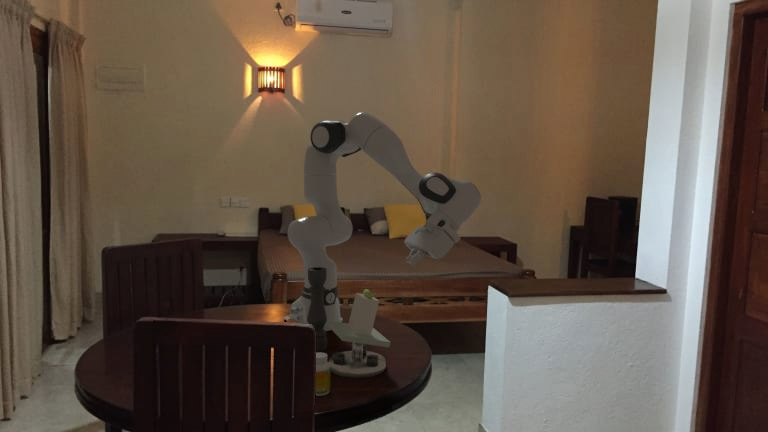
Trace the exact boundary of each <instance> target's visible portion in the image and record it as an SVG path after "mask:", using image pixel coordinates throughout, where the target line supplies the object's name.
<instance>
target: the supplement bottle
mask: <svg viewBox="0 0 768 432" xmlns="http://www.w3.org/2000/svg"><path fill="white" fill-rule="evenodd" d="M315 353H316V374H315V376H316V396H315V397H321V396H322V397H323V396H327V395H328V394H329V393H330V391H331V371H330V364H329V361H328V353H325V352H323V351H318V352H315Z"/></svg>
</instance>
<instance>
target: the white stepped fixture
mask: <svg viewBox="0 0 768 432" xmlns="http://www.w3.org/2000/svg"><path fill="white" fill-rule="evenodd" d="M374 296H375V294H374V292H372V291H370V290H369V289H367V288H365V289H363V290H362V293H359V292H356V293H355V295H354V301H353V304H352V308H351V312H350V317H349V320H348V323H347V322H335V321H329V323H328V326H329V327H330V328H331V329H332V330H331V331H332V332H333V333H334V334H335V335H336V336H337V337H338V338H339V339H340V340H341V341H342V342H349V343H352V342H355V343H362V344H366V345H370V346H377V347H382V348H383V347H384V348H390V346H391V341H390V340H388V339H387V338H386V337H385V336H383V334H382V333H380V332H379V331H378V330H376V328H374V324H375V321H376V320H375V319H376V316H377V313H378V308H379V305H380V304H379V303H380V300H379V299H377V298H376V297H374Z"/></svg>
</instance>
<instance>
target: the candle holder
mask: <svg viewBox="0 0 768 432" xmlns="http://www.w3.org/2000/svg"><path fill="white" fill-rule="evenodd" d="M326 279H327V269H326V268H323V267H312V268H308V280H309V283H310V285H311V287H310V288H309V291H310V293H311V304H310V308H309V312H308V316H307V322H308V324H312V325H313V326H314V328H315V332H316V352H315V353H318V352H324V351H326V350H327V349H328V337H327V331H325V330H324V329H323V328H324V325H325V323H326V321H327V315H326V311H325V307H324V302H323V293H324V291H325V290H326V288H325V287H324V286H323V285H324V283H325V282H326Z"/></svg>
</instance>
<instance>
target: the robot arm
mask: <svg viewBox="0 0 768 432" xmlns="http://www.w3.org/2000/svg"><path fill="white" fill-rule="evenodd" d="M309 137H310V143H311V144H309V145H308V146H307V147H306V149H305V150H306V151H305V154H304V163H303V196H304V198H305V200H306V201H307V202H308V203H310V204H311V205H312V207H313V208H314V211H315V215H310V216H303V217H300V218H297V219H295V220H293V221H291V222H290V223H289V225H288V228H287V238H288V241H289V243H290V244H291V246H293V247H294V248H295V249H296V250H297V251H298V253H299V254H300V256H301V259H302V262H303V267H304V269H303V270H304V271H303V272H304V285H303V286H302V285H301V286H300V288H301V289H300V290H302V291H301V296H299V298H297V299H296V300H295V301H294V302H293V303H291V305H290V312H289V313H290V314H288V315H286V316H284V317H283V320H284V319H286V320H288V319H290V318H291V319H294V320H296V321H298V322H300V323H308V322H307V316H308V312H309V308H310V304H311V293H310V291H309V288H310V287H311V285H310V283H309V280H308V268H312V267H323V268H326V269H327V279H326V282H325V283H324V285H323V286H324V287H325V288H326V290H325V291H324V293H323V302H324V307H325V311H326V315H327V321H326V323H325V325H324V328H323V329H324V330H325V332H328V331H332V329H331V328H330V327H329V326H328V323H329V321H335V322H341V323H343V317H341V305H340V304H341V303H340V299H339V298H338V296H339V288H338V285H337V283H338V282H337V275H338V274H337V269H338V267H337V263H336V262H335V261H334V260H333V259H332V258H330V257H329V256H328V254H327V247H329V246H337V245H340V244H342V243H344V242H346V241H348V240H349V239H350V238H351V237H352V235H353V234H352V233H353V224H352V221H351V220H350V218H349V217H347V215H346V214H345V213H344V212H343V210H342V208H341V206H340V203H339V199H338V190H337V189H338V187H337V161H338V159H339V158H340V157H342V158H346V157H349V156H351V155H353V154H356V153H359V152H360V151H363V152H364V153H365V154H367V156H369V158H371V160H372V159H373V161H375V162H376V163H377V165H378V164H379V165H380V166H381V167H382V168H384V169H385V170H386V171H387V172H389V173H390V174H391V175H392V176H394V178H395V179H397V180H398V182H400V184H402V186H404V188H405V189H407V190H408V191H409V192H410V194H412V195H413V196H414V197H415V198H416V200H417V201H418V202H419V205H420V206H421V210H422V212H423V214H424V215H425V216H426V217H428V218H427V219H426V221H425V224H424V225H419V226H417V227H416V228H415V229H414V230H412V232H410V233H409V235H408V236H407V237H405V239H404V241H403V243H404V245H405V246H406V247H407V248H408V249H409V250H410V252H409V255H408V256H407V257H406V258H405V261H406V262H407V263H408V264H410V265H412V266H414V265H415V264H416V263H417V262H418V261H420V260H422V259H423V258H425V256H426V257H429V258H433V259H436V260H439V259H442V258H444V256H445V255H446V254H447V253H449V251H451V249H452V248H453V246H454V245H455V244H456V243H458V242H459V241H460V240H461V239H462V238H461V236H460V235H459V234H458V231H460V228H461V226H462V225H463V223H465V222H466V221H467V220H469V219H470V217H471V216H472V215H473V214H474V212H475V211H476V210H477V208H478V207H479V205H480V204H481V201H482V199H481V194H480V191H479V190H478V189H479V188H477V187H476V185H475V184H474V183H472V181H469V180H458V179H453V178H450V177H447V176H446V175H444V174H442V173H440V172H429V173H427V174H425V175H422V174H420V172H419V171H417V170H416V169H415V167H414V166H413V164H412V163H411V161H410V159H409V156H408V154H407V151H406V148H405V146H404V144H403V141H402V140H401V138H400V137H399V136H398V135H397V133H396V132H395V131H394V130H393V129H392V128H391V127H389V126H388V124H386V123H385V122H384V121H382V120H380V119H379V118H378V117H376V116H375V115H373V114H370V113H369V112H366V111H365V112H363V111H362V112H361V111H360V112H357V113H356V114H355V115H354V116H353V117H351V118H350V120H349V121H344V120H323V121H320V122H317V123H316V124H315V125H314V126H313V127H312V129H311V131H310V135H309ZM289 316H290V317H289Z"/></svg>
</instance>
